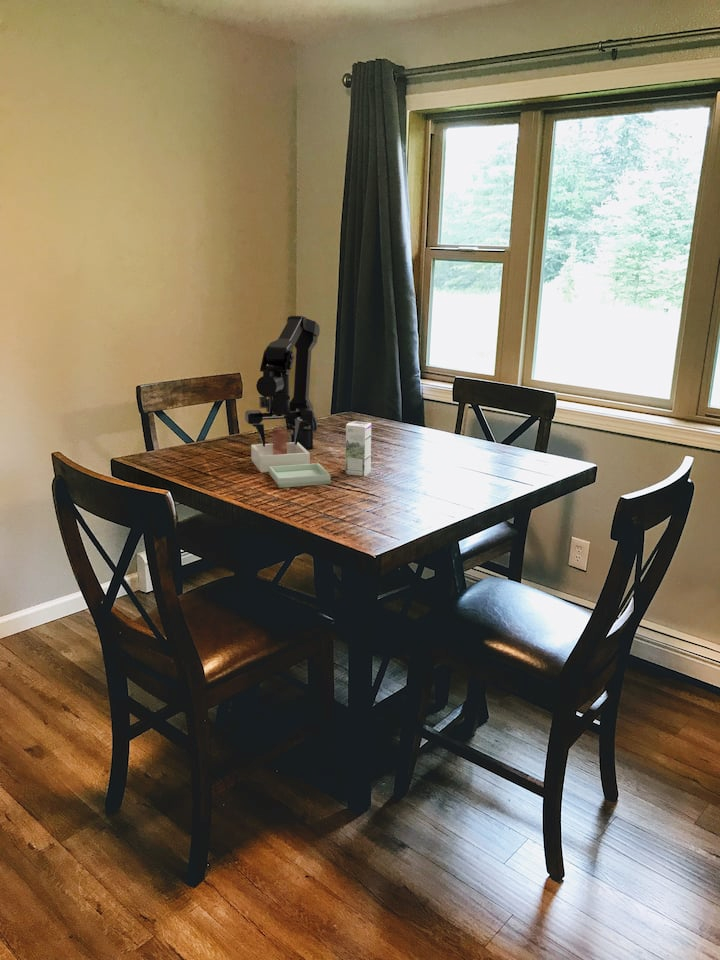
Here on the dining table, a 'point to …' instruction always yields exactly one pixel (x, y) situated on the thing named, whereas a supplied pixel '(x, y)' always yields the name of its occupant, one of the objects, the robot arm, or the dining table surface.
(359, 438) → the syrup box
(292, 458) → the square storage bin
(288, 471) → the tray
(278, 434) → the dowel pin
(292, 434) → the robot arm
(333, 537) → the dining table surface
